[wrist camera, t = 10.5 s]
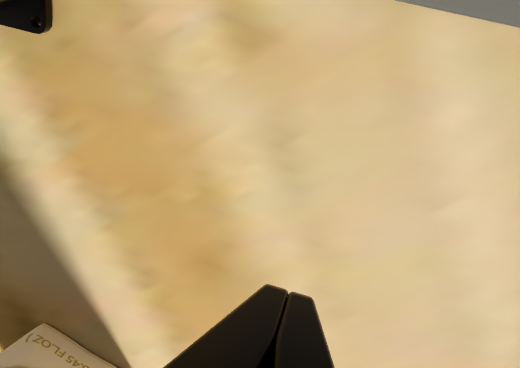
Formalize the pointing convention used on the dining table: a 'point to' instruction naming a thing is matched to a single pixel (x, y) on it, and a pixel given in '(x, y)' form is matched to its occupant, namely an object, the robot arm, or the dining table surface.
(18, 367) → the juice carton
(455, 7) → the grey flat rectangular slab
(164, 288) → the dining table surface
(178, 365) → the robot arm
